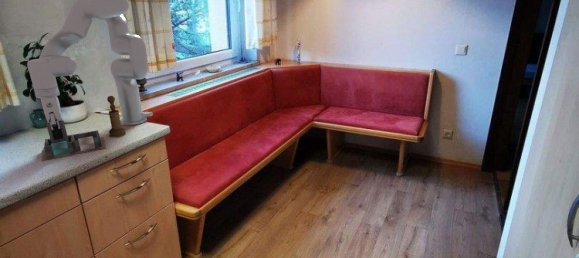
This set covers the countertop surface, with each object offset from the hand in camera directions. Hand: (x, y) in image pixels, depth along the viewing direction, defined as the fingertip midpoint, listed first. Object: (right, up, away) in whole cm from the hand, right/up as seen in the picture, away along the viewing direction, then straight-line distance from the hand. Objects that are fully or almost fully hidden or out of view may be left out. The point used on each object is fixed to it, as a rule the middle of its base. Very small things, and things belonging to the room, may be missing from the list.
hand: (58, 135), depth 137 cm
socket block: (+4, -5, +4) cm, 8 cm away
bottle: (0, -4, +2) cm, 5 cm away
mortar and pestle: (+14, 0, +19) cm, 24 cm away
